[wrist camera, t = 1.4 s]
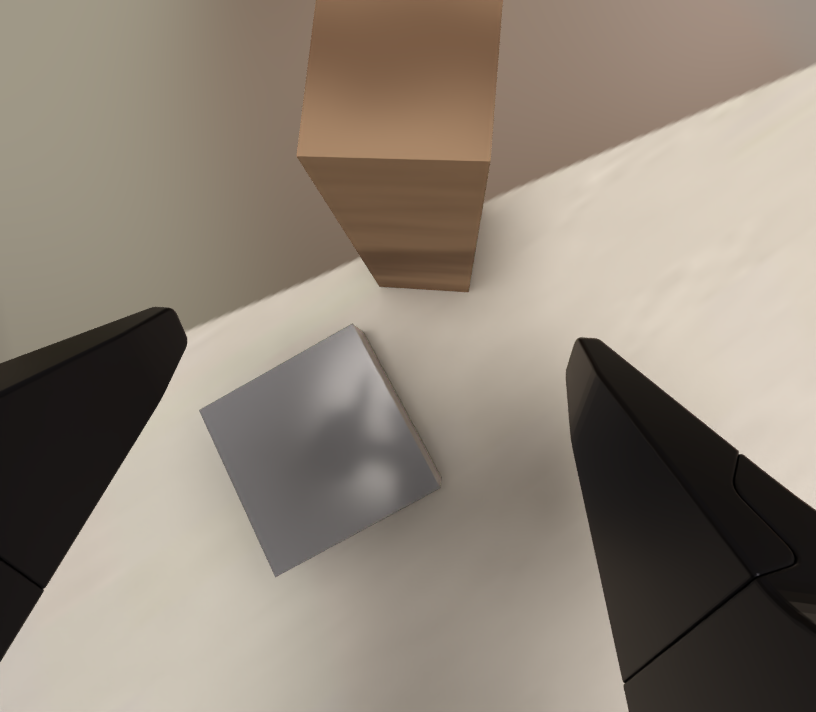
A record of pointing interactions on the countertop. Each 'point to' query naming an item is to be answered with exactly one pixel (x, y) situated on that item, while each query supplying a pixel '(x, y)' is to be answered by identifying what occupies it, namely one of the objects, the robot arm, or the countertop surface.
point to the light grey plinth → (319, 449)
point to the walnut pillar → (403, 131)
